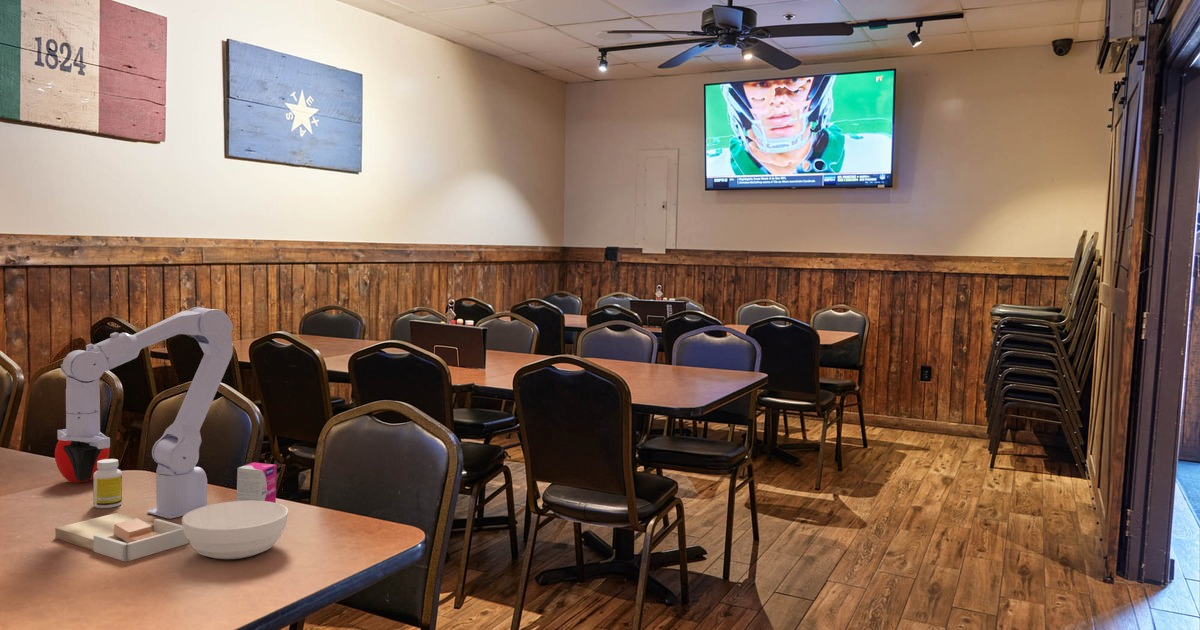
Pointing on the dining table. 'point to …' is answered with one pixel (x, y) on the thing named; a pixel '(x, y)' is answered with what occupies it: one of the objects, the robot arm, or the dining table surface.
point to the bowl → (235, 528)
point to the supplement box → (256, 482)
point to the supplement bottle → (107, 484)
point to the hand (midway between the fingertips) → (83, 479)
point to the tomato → (65, 463)
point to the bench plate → (92, 530)
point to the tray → (142, 542)
